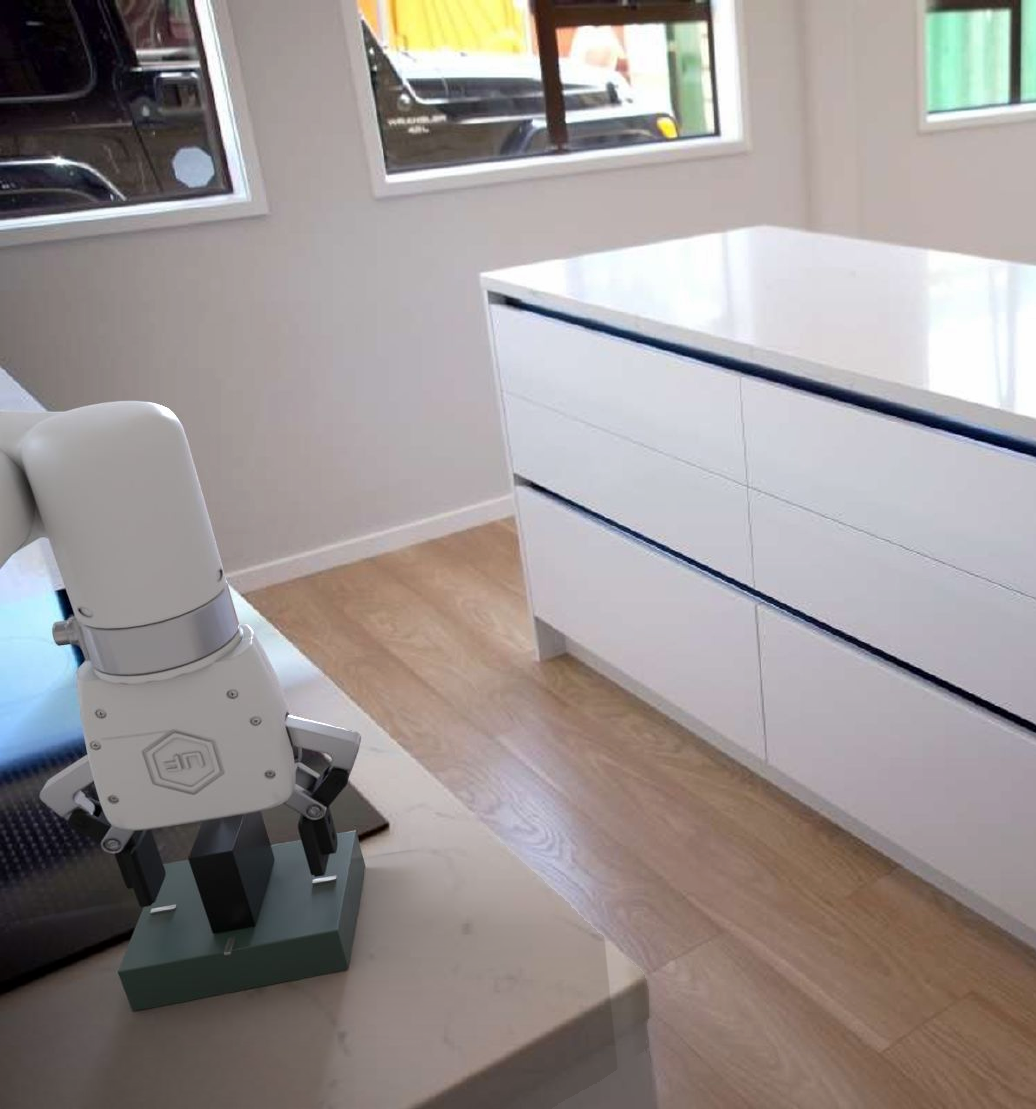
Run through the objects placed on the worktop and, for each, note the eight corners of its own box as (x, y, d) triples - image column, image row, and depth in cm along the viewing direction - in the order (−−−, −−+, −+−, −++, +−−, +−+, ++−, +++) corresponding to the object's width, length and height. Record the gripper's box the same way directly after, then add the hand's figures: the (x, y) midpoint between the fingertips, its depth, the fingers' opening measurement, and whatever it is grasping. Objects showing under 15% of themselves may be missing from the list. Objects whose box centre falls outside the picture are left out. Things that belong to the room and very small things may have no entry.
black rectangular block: (255, 926, 74) (231, 847, 72) (212, 934, 74) (186, 854, 72) (275, 859, 80) (252, 783, 78) (235, 866, 80) (211, 790, 77)
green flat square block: (130, 1016, 72) (114, 974, 71) (174, 897, 82) (161, 858, 81) (348, 973, 75) (336, 932, 73) (366, 863, 84) (356, 824, 83)
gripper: (-38, 685, 65) (64, 946, 72) (316, 635, 68) (380, 889, 75) (15, 620, 71) (103, 865, 78) (335, 577, 74) (392, 816, 81)
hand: (239, 876), depth 77 cm, fingers open, 9 cm apart
